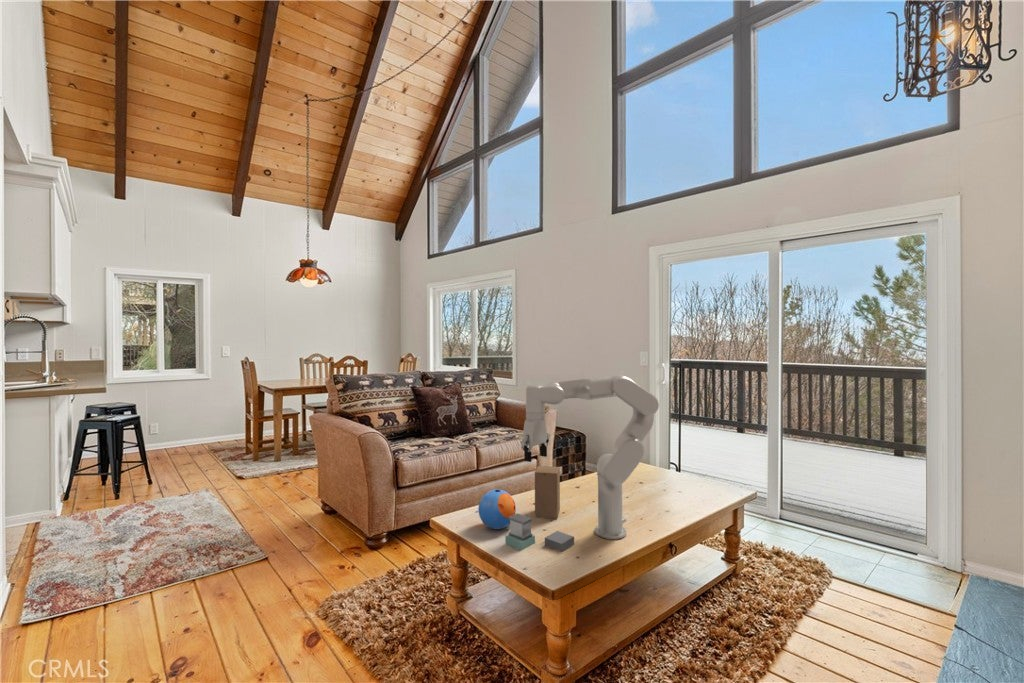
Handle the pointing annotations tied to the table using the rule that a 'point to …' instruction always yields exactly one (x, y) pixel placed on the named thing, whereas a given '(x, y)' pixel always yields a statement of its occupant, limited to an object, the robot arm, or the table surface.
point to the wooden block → (547, 492)
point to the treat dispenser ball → (496, 509)
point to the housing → (520, 527)
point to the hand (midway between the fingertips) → (535, 458)
